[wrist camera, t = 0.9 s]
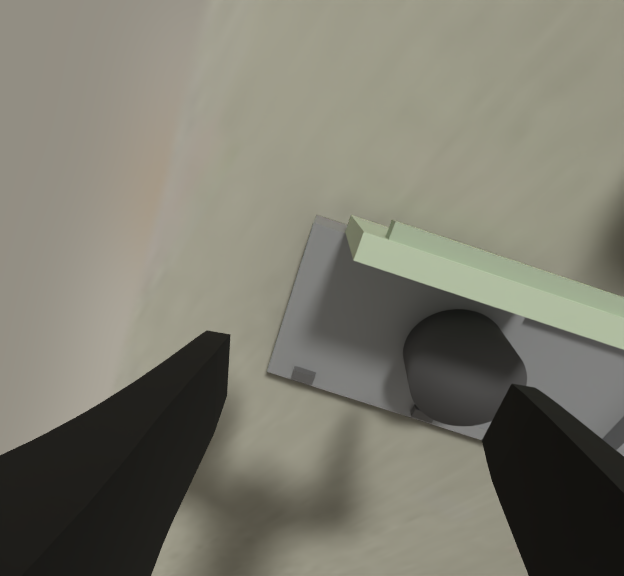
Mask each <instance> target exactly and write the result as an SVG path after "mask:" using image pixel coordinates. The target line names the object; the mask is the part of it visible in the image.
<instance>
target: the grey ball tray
mask: <svg viewBox="0 0 624 576" xmlns="http://www.w3.org/2000/svg"><path fill="white" fill-rule="evenodd" d="M346 228H347V225H345V224H342V223H339V222H336V221H333V220H330V219H327V218H324V217H321V216H318V215H317V216H316V218H315V221H314V223H313V226H312V229H311V233H310V236H309V239H308V242H307V245H306V248H305V252H304V255H303V258H302V261H301V264H300V268H299V271H298V274H297V277H296V280H295V283H294V287H293V290H292V293H291V296H290V299H289V303H288V306H287V309H286V312H285V315H284V319H283V322H282V325H281V328H280V331H279V334H278V338H277V341H276V344H275V347H274V350H273V354H272V357H271V360H270V363H269V366H268V369H267V372H269V373H272V374H276V375H279V376H282V377H285V378H288V379H291V380H294V381H298V382H301V383H304V384H307V385H310V386H313V387H316V388H319V389H323V390H326V391H329V392H332V393H335V394H338V395H341V396H345V397H348V398H351V399H354V400H357V401H360V402H363V403H366V404H370V405H373V406H376V407H379V408H382V409H385V410H388V411H392V412H395V413H398V414H401V415H404V416H407V417H410V418H413V419H417V420H420V421H423V422H426V423H429V424H432V425H435V426H439V427H442V428H445V429H448V430H451V431H454V432H457V433H460V434H464V435H467V436H470V437H473V438H476V439H479V440H482V439H483V437H484V435H485V433H486V431H487V429H488V428H489V426H490V424H491V422H492V421H491V422H488V423H485V424H480V425H475V426H452V425H447V424H443V423H440V422H438V421H435V420H433V419H431V418H429V417H428V416H426V415H425V414H424V413H423V412H422V411H420V410H419V408H418V407H417V406H416V405H415V403H414V401H413V399H412V397H411V393H410V389H409V384H408V379H407V374H406V369H405V364H404V359H403V348H404V344H405V341H406V338H407V337H408V335H409V333H410V332H411V330H412V329H413V328H414V327H415V326H416V325H417V324H418V323H419V322H421V321H422V320H423V319H425V318H427V317H428V316H431V315H433V314H435V313H438V312H441V311H446V310H452V309H465V310H471V311H475V312H478V313H481V314H483V315H485V316H487V317H489V318H490V319H491V320H493V321H494V322H495V323H496V324H497V325H498V327H499V328H500V330H501V331H502V332H503V334H504V335H505V337H506V338H507V339H508V341H509V342H510V344H511V345H512V347H513V348H514V349H515V351H516V352H517V354H518V355H519V356H520V358H521V359H522V361H523V363H524V365H525V368H526V371H527V385H526V386H529V387H535V388H537V389H538V390H540V391H541V392H543V393H544V394H546V395H547V396H548V397H550V398H551V399H552V400H554V401H555V402H556V403H558V404H559V405H560V406H562V407H563V408H564V409H565V410H567V411H568V412H569V413H570V414H572V415H573V416H574V417H575V418H577V419H578V420H579V421H580V422H582V423H583V424H584V425H585V426H587V427H588V428H589V429H590V430H592V431H593V432H594V433H595V434H596V435H598V436H599V437H600V438H601V439H603V440H604V441H605V442H606V443H608V444H609V445H610V446H611V447H613V448H614V449H615V450H616V451H618V452H619V453H620V454H621V455H623V456H624V350H623V349H620V348H617V347H614V346H611V345H608V344H605V343H602V342H599V341H596V340H593V339H590V338H587V337H584V336H581V335H578V334H575V333H572V332H569V331H566V330H563V329H560V328H557V327H554V326H551V325H547V324H544V323H541V322H538V321H535V320H532V319H529V318H526V317H523V316H520V315H517V314H514V313H511V312H508V311H505V310H502V309H499V308H496V307H493V306H490V305H487V304H484V303H481V302H478V301H475V300H472V299H469V298H466V297H463V296H460V295H457V294H454V293H451V292H447V291H444V290H441V289H438V288H435V287H432V286H429V285H426V284H423V283H420V282H417V281H414V280H411V279H408V278H405V277H402V276H399V275H396V274H393V273H390V272H387V271H384V270H381V269H378V268H375V267H372V266H369V265H366V264H363V263H360V262H357V261H354V260H353V257H352V254H351V250H350V247H349V243H348V240H347V236H346V233H345V231H346Z"/></svg>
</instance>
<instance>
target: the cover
mask: <svg viewBox="0 0 624 576" xmlns="http://www.w3.org/2000/svg"><path fill="white" fill-rule="evenodd" d="M345 233H346V236H347V240H348V243H349V247H350V250H351V254H352V257H353V260H354V261H357V262H360V263H363V264H366V265H369V266H372V267H375V268H378V269H381V270H384V271H387V272H390V273H393V274H396V275H399V276H402V277H405V278H408V279H411V280H414V281H417V282H420V283H423V284H426V285H429V286H432V287H435V288H438V289H441V290H444V291H447V292H451V293H454V294H457V295H460V296H463V297H466V298H469V299H472V300H475V301H478V302H481V303H484V304H487V305H490V306H493V307H496V308H499V309H502V310H505V311H508V312H511V313H514V314H517V315H520V316H523V317H526V318H529V319H532V320H535V321H538V322H541V323H544V324H547V325H551V326H554V327H557V328H560V329H563V330H566V331H569V332H572V333H575V334H578V335H581V336H584V337H587V338H590V339H593V340H596V341H599V342H602V343H605V344H608V345H611V346H614V347H617V348H620V349H623V350H624V297H622V296H619V295H616V294H613V293H610V292H607V291H604V290H601V289H598V288H595V287H592V286H589V285H586V284H583V283H580V282H577V281H574V280H571V279H568V278H565V277H562V276H559V275H556V274H553V273H550V272H547V271H544V270H541V269H538V268H535V267H532V266H529V265H526V264H523V263H520V262H517V261H514V260H511V259H508V258H505V257H502V256H499V255H496V254H493V253H490V252H487V251H484V250H481V249H478V248H475V247H472V246H469V245H466V244H463V243H460V242H457V241H454V240H451V239H448V238H445V237H442V236H439V235H436V234H433V233H430V232H427V231H424V230H421V229H418V228H415V227H412V226H410V225H407V224H404V223H401V222H398V221H395V220H392V221H391V224H390V226H389V227H386V226H383V225H380V224H377V223H374V222H371V221H368V220H365V219H362V218H359V217H356V216H353V215H351V217H350V220H349V222H348V225H347V228H346V231H345Z"/></svg>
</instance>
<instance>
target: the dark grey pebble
mask: <svg viewBox="0 0 624 576" xmlns="http://www.w3.org/2000/svg"><path fill="white" fill-rule="evenodd" d="M403 359H404V364H405V369H406V374H407V379H408V384H409V389H410V393H411V397H412V399H413V401H414V403H415V405H416V406H417V407H418V408H419V410H420V411H422V412H423V413H424V414H425V415H426V416H428V417H429V418H431V419H433V420H435V421H438V422H440V423H443V424H447V425H452V426H475V425H480V424H485V423H488V422H491V421H492V420H493V418H494V416H495V414H496V412H497V410H498V408H499V407H500V405H501V403H502V401H503V399H504V397H505V395H506V393H507V391H508V389H509V387H510V385H511V384H518V385H524V386H526V385H527V371H526V368H525V365H524V363H523V361H522V359H521V358H520V356H519V355H518V354H517V352H516V351H515V349H514V348H513V347H512V345H511V344H510V342H509V341H508V339H507V338H506V337H505V335H504V334H503V332H502V331H501V330H500V328H499V327H498V325H497V324H496V323H495V322H494V321H493V320H491V319H490V318H489V317H487V316H485V315H483V314H481V313H478V312H475V311H471V310H465V309H452V310H446V311H441V312H438V313H435V314H433V315H431V316H428V317H427V318H425V319H423V320H422V321H421V322H419V323H418V324H417V325H416V326H415V327H414V328H413V329H412V330H411V332H410V333H409V335H408V337H407V338H406V341H405V344H404V348H403Z"/></svg>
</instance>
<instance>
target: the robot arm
mask: <svg viewBox="0 0 624 576" xmlns="http://www.w3.org/2000/svg"><path fill="white" fill-rule="evenodd" d="M229 349H230V334H224V333H218V332H212V331H205V332H204V333H202V334H201V335H200V336H198V337H197V338H195V339H194V340H193V341H191V342H190V343H188V344H187V345H186V346H184V347H183V348H182V349H180V350H179V351H178V352H176V353H175V354H173V355H172V356H171V357H169V358H168V359H167V360H165V361H164V362H162V363H161V364H159V365H158V366H157V367H155V368H154V369H152V370H151V371H149V372H148V373H146V374H145V375H144V376H142V377H141V378H139V379H138V380H136V381H135V382H133V383H132V384H130V385H128V386H127V387H125V388H124V389H122V390H120V391H119V392H117V393H116V394H114V395H113V396H111V397H109V398H108V399H106V400H105V401H103V402H102V403H100V404H98V405H97V406H95V407H93V408H91V409H90V410H88V411H86V412H85V413H83V414H81V415H79V416H77V417H76V418H74V419H72V420H70V421H68V422H66V423H64V424H63V425H61V426H59V427H57V428H55V429H53V430H51V431H50V432H48V433H46V434H44V435H42V436H40V437H38V438H36V439H34V440H32V441H30V442H28V443H26V444H23V445H21V446H19V447H17V448H15V449H13V450H11V451H9V452H7V453H5V454H3V455H0V576H151V574H152V572H153V569H154V566H155V564H156V561H157V558H158V556H159V553H160V550H161V548H162V545H163V542H164V540H165V538H166V536H167V533H168V531H169V529H170V526H171V524H172V522H173V519H174V517H175V515H176V513H177V511H178V509H179V507H180V505H181V502H182V500H183V498H184V496H185V494H186V492H187V490H188V488H189V486H190V483H191V481H192V479H193V477H194V475H195V473H196V471H197V469H198V466H199V464H200V462H201V460H202V458H203V456H204V454H205V452H206V449H207V447H208V445H209V443H210V441H211V439H212V436H213V434H214V432H215V429H216V426H217V423H218V421H219V418H220V415H221V412H222V409H223V406H224V403H225V400H226V397H227V384H228V367H229ZM482 442H483V447H484V451H485V455H486V460H487V464H488V468H489V471H490V475H491V479H492V482H493V485H494V487H495V490H496V493H497V495H498V498H499V501H500V503H501V506H502V509H503V511H504V514H505V516H506V519H507V521H508V524H509V527H510V529H511V532H512V534H513V537H514V539H515V542H516V544H517V547H518V549H519V552H520V554H521V557H522V560H523V562H524V565H525V567H526V570H527V572H528V575H529V576H624V456H623V455H621V454H620V453H619V452H618V451H616V450H615V449H614V448H613V447H611V446H610V445H609V444H608V443H606V442H605V441H604V440H603V439H601V438H600V437H599V436H598V435H596V434H595V433H594V432H593V431H592V430H590V429H589V428H588V427H587V426H585V425H584V424H583V423H582V422H580V421H579V420H578V419H577V418H575V417H574V416H573V415H572V414H570V413H569V412H568V411H567V410H565V409H564V408H563V407H562V406H560V405H559V404H558V403H556V402H555V401H554V400H552V399H551V398H550V397H548V396H547V395H546V394H544V393H543V392H541V391H540V390H538V389H537V388H535V387H529V386H524V385H518V384H511V385H510V387H509V389H508V391H507V393H506V395H505V397H504V399H503V401H502V403H501V405H500V407H499V408H498V410H497V412H496V414H495V416H494V418H493V420H492V422H491V424H490V426H489V428H488V429H487V431H486V433H485V435H484V437H483V439H482Z"/></svg>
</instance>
